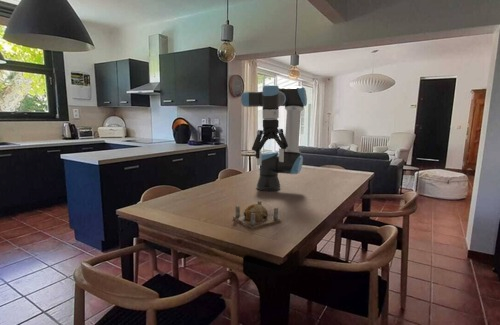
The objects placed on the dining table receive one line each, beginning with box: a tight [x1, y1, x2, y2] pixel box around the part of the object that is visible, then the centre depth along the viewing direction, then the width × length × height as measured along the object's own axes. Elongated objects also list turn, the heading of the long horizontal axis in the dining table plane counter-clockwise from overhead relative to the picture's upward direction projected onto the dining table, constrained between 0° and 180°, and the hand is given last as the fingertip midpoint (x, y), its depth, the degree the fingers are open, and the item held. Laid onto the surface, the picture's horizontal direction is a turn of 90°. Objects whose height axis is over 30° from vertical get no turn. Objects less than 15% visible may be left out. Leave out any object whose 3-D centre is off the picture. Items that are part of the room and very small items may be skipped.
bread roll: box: [242, 203, 268, 222], centre depth 123 cm, size 10×10×8 cm
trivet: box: [232, 200, 281, 231], centre depth 123 cm, size 15×15×6 cm
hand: (270, 163), depth 137 cm, fingers open, 13 cm apart
